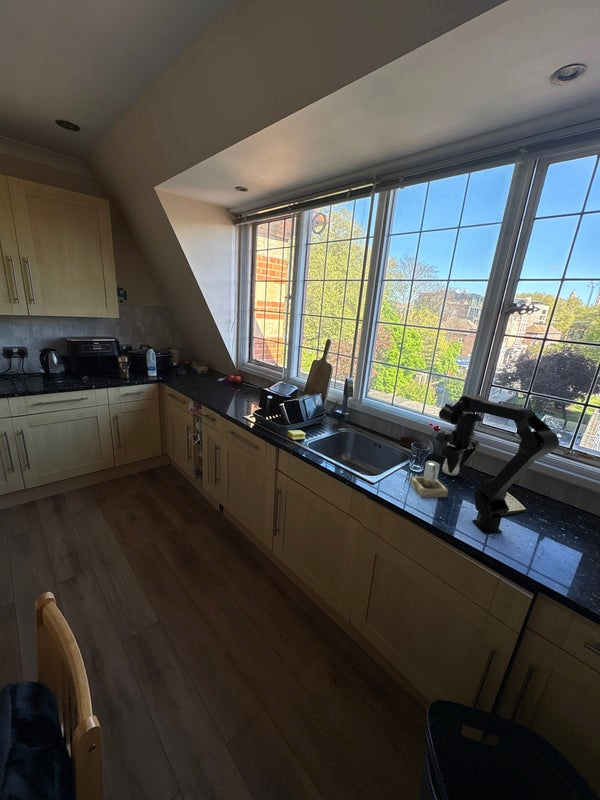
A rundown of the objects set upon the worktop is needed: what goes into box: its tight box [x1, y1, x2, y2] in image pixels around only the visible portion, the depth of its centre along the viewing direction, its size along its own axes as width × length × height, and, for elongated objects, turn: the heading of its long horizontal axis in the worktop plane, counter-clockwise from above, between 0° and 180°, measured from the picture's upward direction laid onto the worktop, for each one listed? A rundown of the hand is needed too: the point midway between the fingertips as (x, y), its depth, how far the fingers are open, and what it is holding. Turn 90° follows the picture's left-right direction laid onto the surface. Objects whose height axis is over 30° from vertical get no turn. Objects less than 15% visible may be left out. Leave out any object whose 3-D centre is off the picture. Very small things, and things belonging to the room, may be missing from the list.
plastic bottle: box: [442, 442, 460, 477], centre depth 140 cm, size 6×7×20 cm
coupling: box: [421, 460, 441, 489], centre depth 126 cm, size 7×6×11 cm
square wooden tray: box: [409, 476, 449, 498], centre depth 128 cm, size 10×10×3 cm
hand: (455, 469), depth 119 cm, fingers open, 9 cm apart
